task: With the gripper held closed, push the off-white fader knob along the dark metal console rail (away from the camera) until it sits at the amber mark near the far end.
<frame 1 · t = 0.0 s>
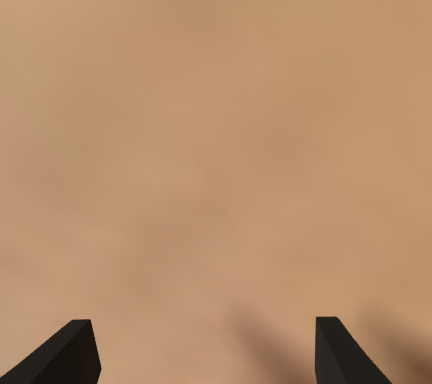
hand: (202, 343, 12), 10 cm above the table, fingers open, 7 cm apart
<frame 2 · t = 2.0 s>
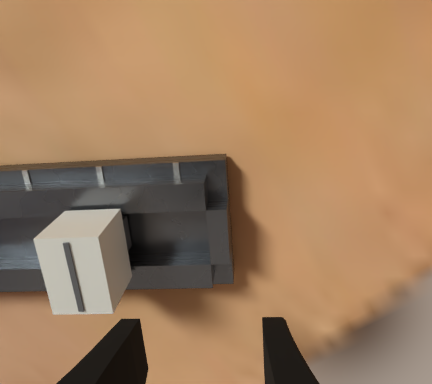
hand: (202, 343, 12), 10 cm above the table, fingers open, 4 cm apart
fader knob: (93, 252, 18), point 4 cm above the table, slide at 0.0 cm
console: (51, 222, 22), on the table
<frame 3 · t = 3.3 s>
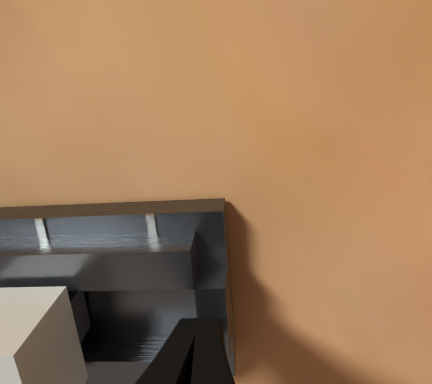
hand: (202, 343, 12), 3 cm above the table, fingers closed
fader knob: (26, 351, 12), point 4 cm above the table, slide at 0.0 cm
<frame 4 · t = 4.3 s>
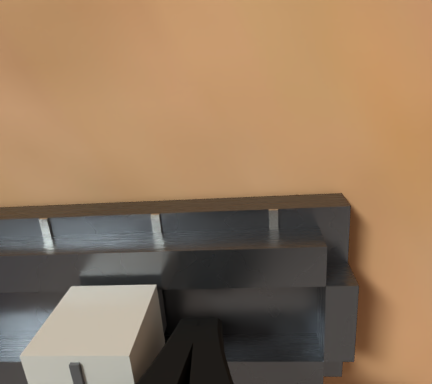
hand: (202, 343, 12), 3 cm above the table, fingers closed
fader knob: (115, 351, 12), point 4 cm above the table, slide at 1.2 cm, touching gripper
console: (78, 285, 16), on the table
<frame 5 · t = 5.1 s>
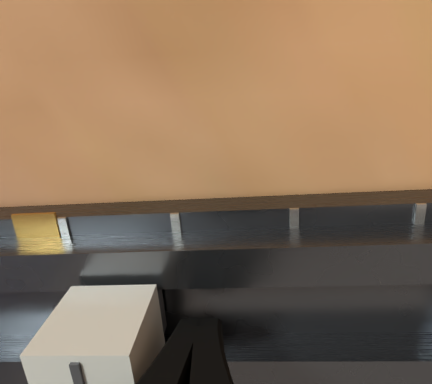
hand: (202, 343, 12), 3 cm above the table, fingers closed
fader knob: (115, 351, 12), point 4 cm above the table, slide at 5.9 cm, touching gripper
console: (189, 283, 15), on the table
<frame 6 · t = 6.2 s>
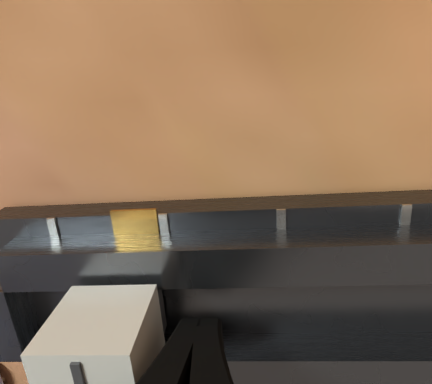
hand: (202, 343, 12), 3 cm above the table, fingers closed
fader knob: (115, 350, 12), point 4 cm above the table, slide at 9.5 cm, touching gripper
console: (279, 281, 15), on the table
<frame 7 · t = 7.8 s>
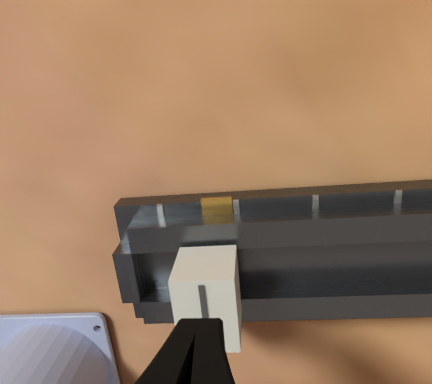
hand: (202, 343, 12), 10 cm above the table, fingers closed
fader knob: (210, 288, 19), point 4 cm above the table, slide at 9.5 cm
console: (312, 246, 21), on the table
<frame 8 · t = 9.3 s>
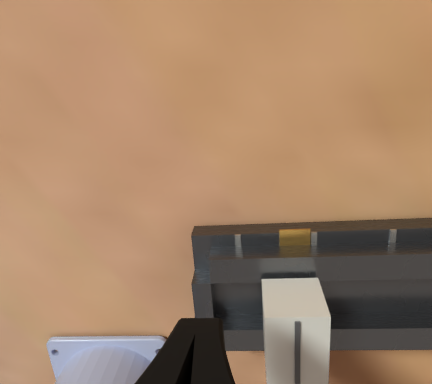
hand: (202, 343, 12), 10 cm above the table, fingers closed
fader knob: (291, 320, 19), point 4 cm above the table, slide at 9.5 cm
console: (380, 276, 22), on the table
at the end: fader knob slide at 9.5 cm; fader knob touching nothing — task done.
